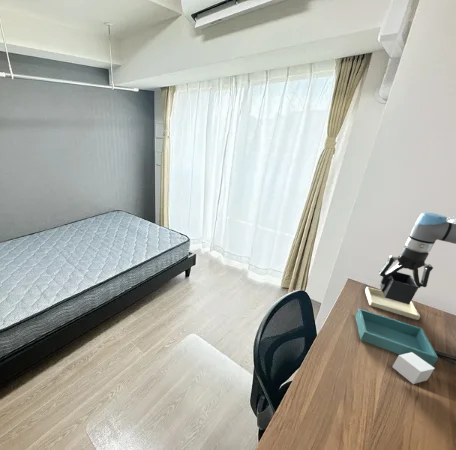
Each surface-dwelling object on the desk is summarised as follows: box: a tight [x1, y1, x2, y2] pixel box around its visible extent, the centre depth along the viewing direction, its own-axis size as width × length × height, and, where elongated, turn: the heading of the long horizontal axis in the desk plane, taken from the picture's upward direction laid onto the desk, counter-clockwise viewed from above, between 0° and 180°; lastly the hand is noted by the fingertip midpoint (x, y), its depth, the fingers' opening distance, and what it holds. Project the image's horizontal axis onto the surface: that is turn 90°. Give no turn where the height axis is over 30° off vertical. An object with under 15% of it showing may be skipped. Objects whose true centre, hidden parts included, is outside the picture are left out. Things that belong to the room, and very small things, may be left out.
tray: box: [364, 286, 421, 321], centre depth 112 cm, size 16×14×2 cm
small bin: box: [379, 269, 419, 304], centre depth 109 cm, size 8×11×9 cm
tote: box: [355, 308, 439, 367], centre depth 92 cm, size 20×16×5 cm
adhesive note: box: [392, 352, 436, 386], centre depth 78 cm, size 6×6×6 cm
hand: (394, 293), depth 110 cm, fingers closed on small bin, 8 cm apart
